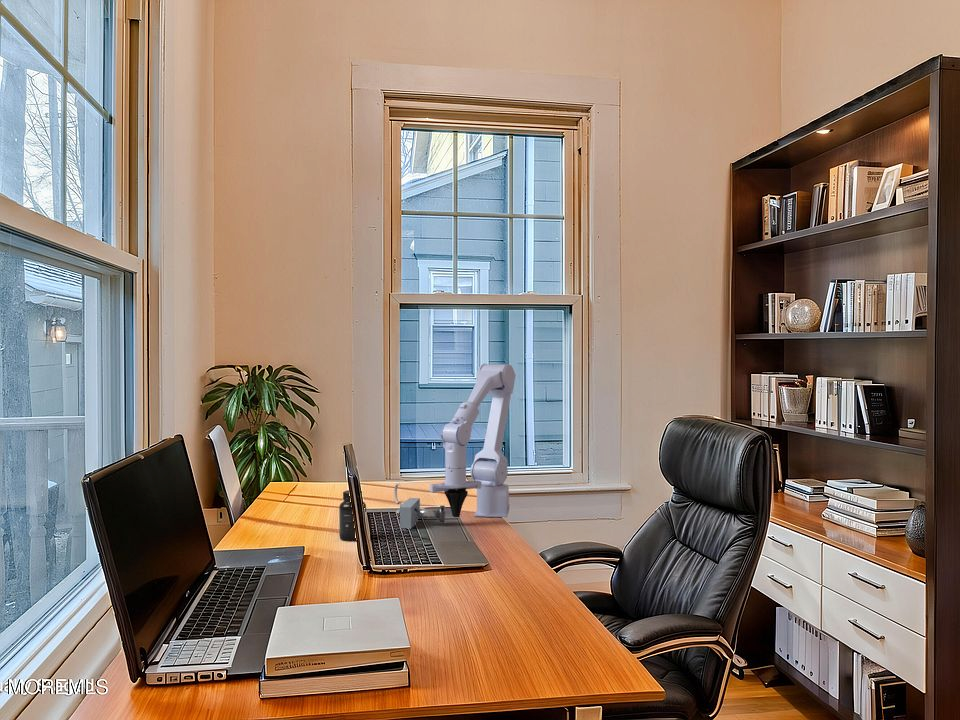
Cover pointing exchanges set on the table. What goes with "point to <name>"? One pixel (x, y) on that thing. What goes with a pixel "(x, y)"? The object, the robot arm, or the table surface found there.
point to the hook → (396, 496)
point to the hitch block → (409, 513)
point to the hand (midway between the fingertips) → (455, 516)
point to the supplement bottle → (346, 519)
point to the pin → (431, 513)
